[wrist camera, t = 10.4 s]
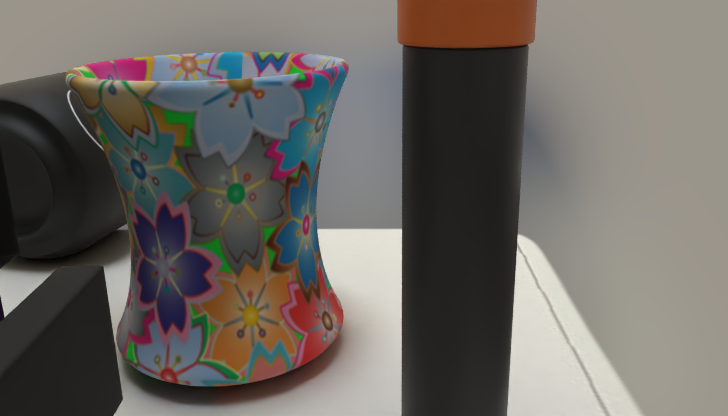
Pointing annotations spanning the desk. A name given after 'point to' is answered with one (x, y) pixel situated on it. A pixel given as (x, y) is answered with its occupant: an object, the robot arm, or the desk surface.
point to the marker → (460, 199)
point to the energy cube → (6, 226)
